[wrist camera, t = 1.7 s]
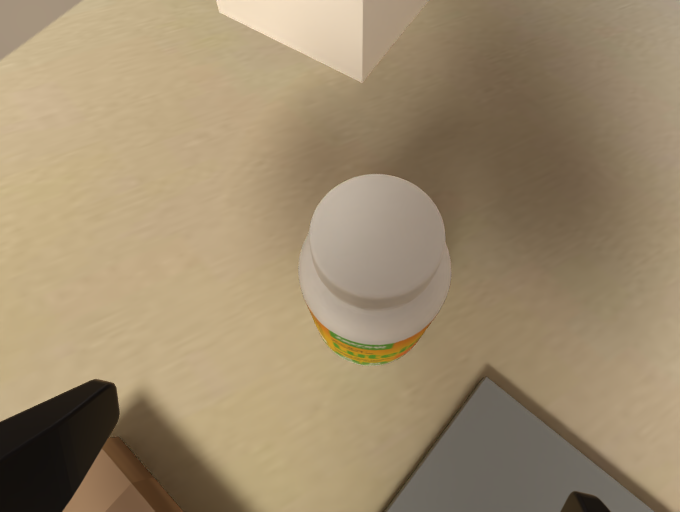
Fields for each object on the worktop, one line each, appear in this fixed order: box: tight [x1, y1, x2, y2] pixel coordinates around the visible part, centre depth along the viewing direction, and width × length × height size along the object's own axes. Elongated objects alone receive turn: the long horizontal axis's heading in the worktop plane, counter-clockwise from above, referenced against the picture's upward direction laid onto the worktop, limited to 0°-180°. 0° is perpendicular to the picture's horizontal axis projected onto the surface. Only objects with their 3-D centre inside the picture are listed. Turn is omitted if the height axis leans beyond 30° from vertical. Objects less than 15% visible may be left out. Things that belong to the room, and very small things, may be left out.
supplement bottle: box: [298, 174, 451, 366], centre depth 17 cm, size 5×5×10 cm
